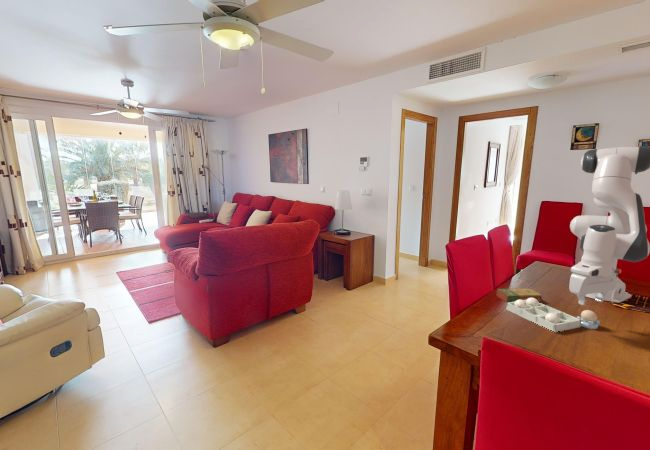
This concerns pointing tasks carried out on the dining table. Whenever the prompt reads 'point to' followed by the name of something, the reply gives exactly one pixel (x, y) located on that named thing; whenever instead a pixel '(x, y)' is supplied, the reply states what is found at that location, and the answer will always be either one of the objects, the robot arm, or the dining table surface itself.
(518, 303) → the egg
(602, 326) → the dining table surface
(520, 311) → the tray
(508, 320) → the dining table surface
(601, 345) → the dining table surface
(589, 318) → the egg
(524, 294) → the carton
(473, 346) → the dining table surface
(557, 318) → the egg
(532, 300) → the egg
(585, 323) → the egg cup
